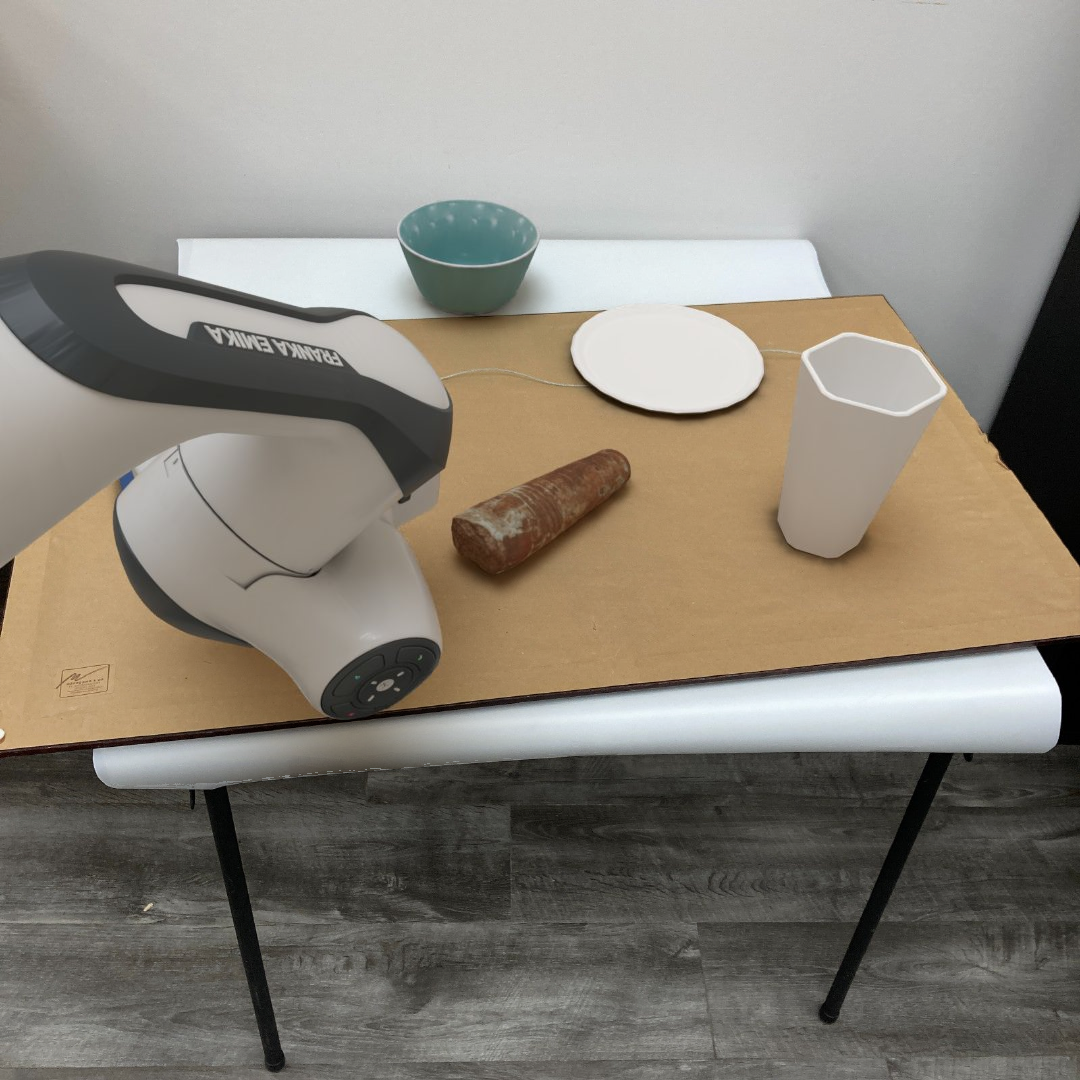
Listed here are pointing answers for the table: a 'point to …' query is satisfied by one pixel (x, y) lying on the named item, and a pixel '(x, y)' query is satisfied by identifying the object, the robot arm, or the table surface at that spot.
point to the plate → (667, 358)
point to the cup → (851, 437)
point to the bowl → (467, 253)
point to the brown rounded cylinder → (536, 511)
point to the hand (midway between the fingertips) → (263, 380)
